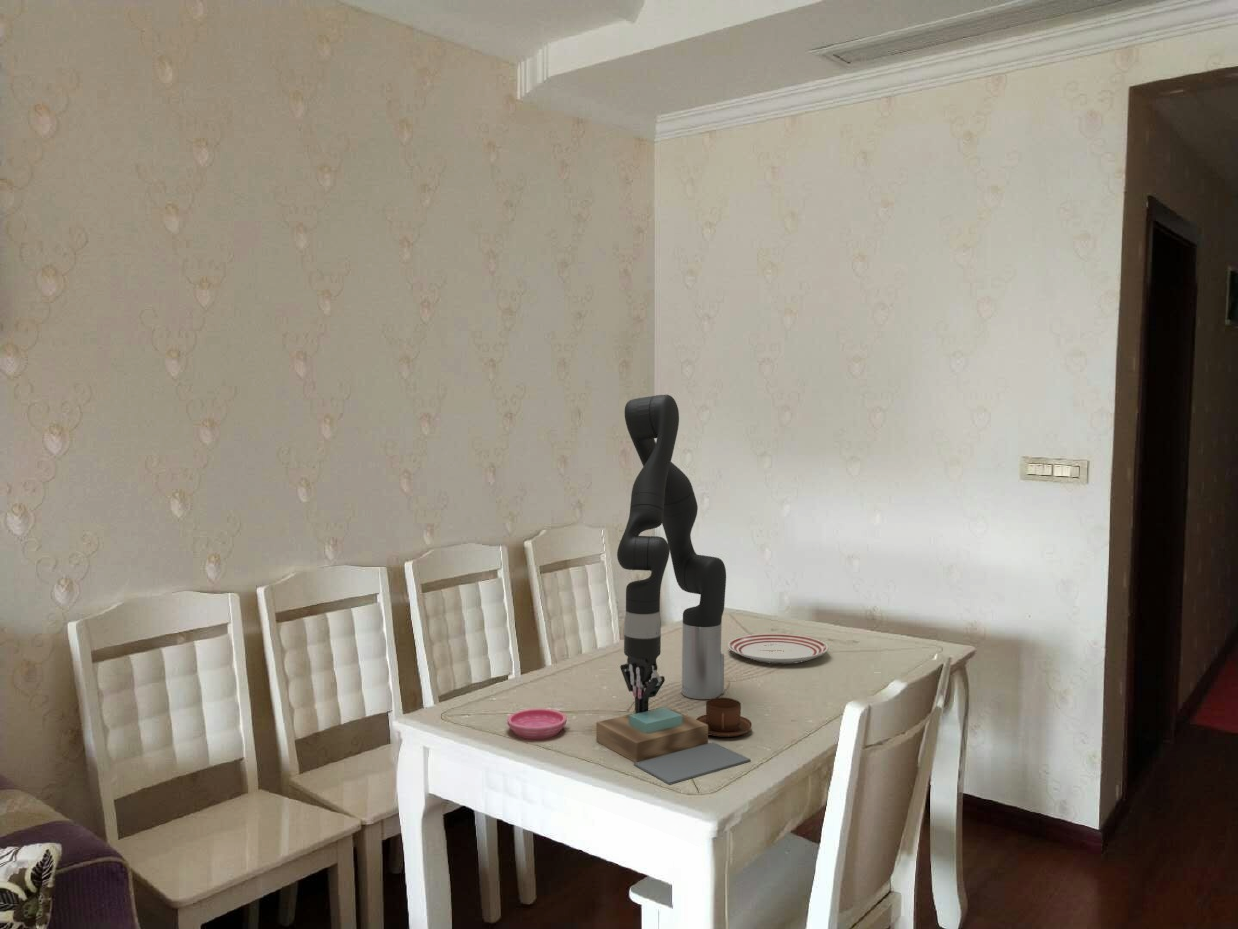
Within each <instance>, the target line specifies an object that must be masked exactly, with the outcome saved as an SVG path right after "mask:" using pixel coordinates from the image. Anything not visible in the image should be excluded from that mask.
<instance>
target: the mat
mask: <svg viewBox="0 0 1238 929" xmlns="http://www.w3.org/2000/svg"><path fill="white" fill-rule="evenodd" d="M749 762H751V758H749V757H747V756H745V755H743V754H740V753H738V752H736V751H733V750H731V749H730V748H727V747H725V746H723V745H720V744H719V743H717V742H715V741H713V742H708V744H704V745H700V746H697V747H693V748H689V749H685V750H681V751H678V752H674V753H670V754H666V755H663V756H659V757H655V758H651V759H648V760H644V761H640V762H636V763H635V762H633V766H635V768H637V769H640V770H641V771H643V772H646V773H647V774H649V775H651V776H653V777H654V778H656V779H658V780H660V779H661V780H660V781H662V780H663V781H665V782H666V784H667V783H668V784H667V785H669V784H670V785H672V784H671V783H673V784H676V783H675V782H677V783H680V782H682V781H683V780H684V781H685V779H686V780H690V779H694V778H697V777H700V776H704V775H708V774H711V773H714V772H719V771H721V770H724V769H727V768H728V767H729V768H731V767H736V766H739V765H742V764H745V763H749ZM707 773H708V774H707ZM663 781H662V782H663ZM679 781H680V782H679ZM684 781H683V782H684ZM665 782H664V783H665Z"/></svg>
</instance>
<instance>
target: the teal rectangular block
mask: <svg viewBox="0 0 1238 929" xmlns="http://www.w3.org/2000/svg"><path fill="white" fill-rule="evenodd" d="M663 707H664V708H661V707H658V708H659V709H656V708H654V709H655V710H652V709H649V710H650V711H646V712H641V713H637V714H634V713H631V714H632V715H630V714H628V715H629V725H630V726H632V727H634V728H636V729H638V730H640V731H642V732H644V733H646V734H647V733H651V732H655V731H659V730H664V729H668V728H672V727H676V726H680V725H682V715H680V714H678V713H676V712H674V711H671V710H669V709H667V708H665V706H663Z"/></svg>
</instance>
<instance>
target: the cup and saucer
mask: <svg viewBox="0 0 1238 929" xmlns="http://www.w3.org/2000/svg"><path fill="white" fill-rule="evenodd" d="M741 704H742V703H741V702H740V701H739V700H737V699H735V698H730V697H729V698H728V697H716V698H713V699H706V702H705V714H703V715H700V716H698V717H697V718H695V719H696V720H698V721H700V722H703V723H705V724H707V725H708V736H709V735H710V736H714V737H723V738H731V737H738V736H742V735H743V734H746V733H748V732H750V730H751V729H752V722H751V720H750V719H748V718H746V717H744V716H741V715H742V714H741V710H742V709H741V708H742V705H741Z"/></svg>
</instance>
